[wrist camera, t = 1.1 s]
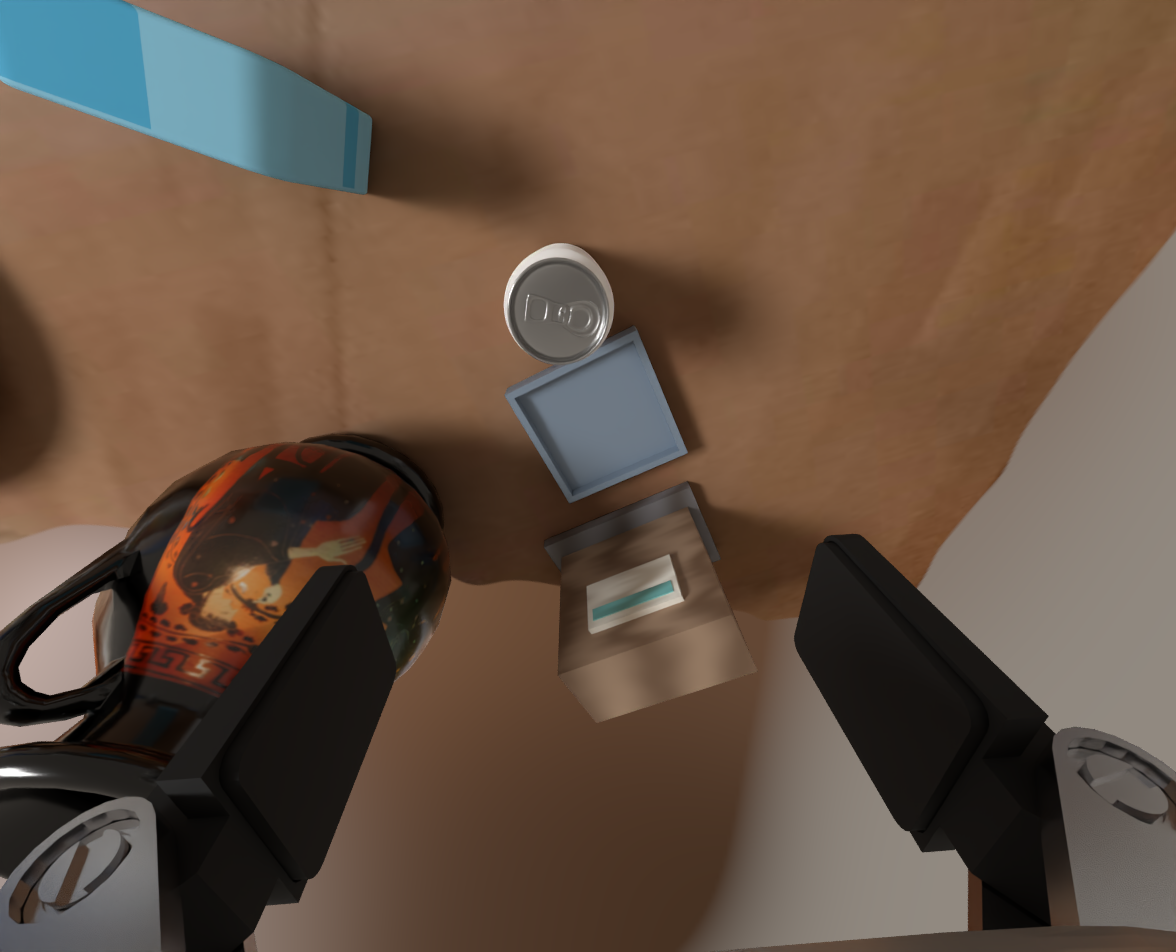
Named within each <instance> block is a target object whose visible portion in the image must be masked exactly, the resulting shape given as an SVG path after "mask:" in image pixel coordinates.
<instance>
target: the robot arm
mask: <svg viewBox="0 0 1176 952" xmlns="http://www.w3.org/2000/svg"><path fill="white" fill-rule="evenodd" d="M794 641H795V646H796V649H797V652H798V654H799V656H800V657H801V659H802V661H803V662H804V664H805V666H806V668H807V669H808V671H809V673H810V675H811V676H812V678H813V680H814V681H815V683H816V685H817V687H818V688H819V690H820V692H821V694H822V695H823V697H824V699H825V700H826V702H827V704H828V706H829V707H830V709H831V711H832V712H833V714H834V716H835V718H836V719H837V721H838V723H839V724H840V726H841V728H842V730H843V732H844V733H845V735H846V737H847V738H848V740H849V742H850V744H851V745H852V747H853V749H854V750H855V752H856V754H857V756H858V757H859V759H860V761H861V763H862V764H863V766H864V768H865V770H866V771H867V773H868V775H869V776H870V778H871V780H872V782H873V783H874V785H875V787H876V788H877V790H878V792H879V794H880V795H881V797H882V799H883V800H884V802H885V804H886V806H887V808H888V809H889V811H890V813H891V814H892V816H893V818H894V819H895V821H896V822H897V824H898V825H899V826H900V827H901V828H902V829H904V830H905V831H910V833H911V834H912V836H913V838H914V840H915V841H916V843H917V845H918V846H919V848H920V850H921V851H922V852H934V851H946V850H955V849H956V851H957V852H958V854H959V855H960V857H961V858H962V860H963V861H964V863H965V865H966V866H967V868H968V931H964V932H947V933H934V934H921V935H908V936H896V937H883V938H872V939H859V940H847V941H833V942H822V943H810V944H796V945H785V946H771V947H759V948H748V949H735V950H723V951H712V952H1176V772H1175V771H1174V770H1172V769H1171V768H1170V767H1169V766H1167V765H1166V764H1165V763H1164V762H1162V761H1160V760H1159V759H1157V758H1156V757H1154V756H1152V755H1151V754H1149V753H1148V752H1146V751H1144V750H1143V749H1141V748H1140V747H1137V746H1135V745H1133V744H1131V743H1129V742H1127V741H1124V740H1123V739H1121V738H1118V737H1116V736H1114V735H1110V734H1107V733H1104V732H1101V731H1098V730H1095V729H1089V728H1081V727H1071V728H1065V729H1061V730H1060V731H1059V732H1058V733H1057V734H1055V733H1054V732H1053V731H1052V730H1051V729H1050V728H1049V727H1048V726H1047V725H1046V724H1045V723H1044V722H1045V721H1046V719H1047V718H1048V715H1047V714H1046V713H1045V712H1044V711H1043V710H1042V709H1041V708H1040V707H1039V706H1038V705H1036V704H1035V703H1034V701H1032V700H1031V699H1030V698H1029V697H1028V696H1027V695H1026V694H1025V693H1024V692H1023V691H1022V690H1021V689H1020V688H1019V687H1018V686H1017V685H1016V684H1015V683H1014V682H1013V681H1012V680H1011V679H1010V678H1009V677H1008V676H1007V675H1006V674H1005V673H1004V672H1002V671H1001V670H1000V669H999V668H998V667H997V666H996V665H995V664H994V663H993V662H992V661H991V660H990V659H989V658H988V657H987V656H986V655H985V654H984V653H983V652H982V651H981V650H980V649H978V647H976V645H974V644H973V643H972V642H971V641H970V640H969V639H968V638H967V637H966V636H965V635H964V634H963V633H962V632H961V631H960V630H959V629H958V628H957V627H956V626H955V625H954V624H953V623H952V622H951V621H950V620H949V619H947V618H946V616H944V615H943V614H942V613H941V612H940V611H939V610H938V609H937V608H936V607H935V606H934V605H933V604H932V603H931V602H930V601H929V600H928V599H927V598H926V597H925V596H924V595H923V594H922V593H921V592H920V591H919V590H918V589H916V588H915V587H914V586H913V585H912V584H911V583H910V582H909V581H908V580H907V579H906V578H905V577H904V576H903V575H902V574H901V573H900V572H899V571H898V570H897V569H896V568H895V567H894V566H893V565H892V564H891V563H890V562H889V561H887V560H886V559H885V558H884V557H883V556H882V555H881V554H880V553H879V552H878V551H877V550H876V549H875V548H874V547H873V546H872V545H871V544H870V543H869V542H868V541H867V540H866V539H865V538H864V537H862V536H861V535H858V534H846V535H830V536H827V537H826V538H825V539H824V542H823V543H820V544H818V546H817V548H816V551H815V555H814V559H813V563H812V567H811V571H810V575H809V579H808V583H807V587H806V591H805V595H804V599H803V603H802V607H801V611H800V615H799V619H798V623H797V627H796V631H795V636H794ZM395 676H396V661H395V658H394V655H393V652H392V649H391V646H390V643H389V641H388V638H387V635H386V632H385V629H384V626H383V623H382V620H381V617H380V615H379V612H378V609H377V606H376V603H375V600H374V597H373V594H372V591H371V589H370V586H369V583H368V580H367V577H366V575H365V573H364V572H362V571H357V569H356V567H355V566H354V565H335V566H322V567H320V568H319V569H318V570H316V572H315V573H314V574H313V575H312V577H311V578H310V579H309V581H308V582H307V583H306V585H305V586H304V587H303V589H302V590H301V591H300V592H299V594H298V595H297V596H296V598H295V599H294V600H293V602H292V603H291V604H290V606H289V607H288V608H287V609H286V611H285V612H284V613H283V615H282V616H281V617H280V619H279V620H278V621H277V623H276V624H275V625H274V626H273V628H272V629H271V630H270V632H269V633H268V634H267V636H266V637H265V638H264V639H263V641H262V642H261V643H260V645H259V646H258V647H257V649H256V650H255V651H254V653H253V654H252V655H251V656H250V658H249V659H248V660H247V662H246V663H245V664H244V666H243V667H242V668H241V670H240V671H239V672H238V673H237V675H236V676H235V677H234V679H233V680H232V681H231V683H230V684H229V685H228V687H227V688H226V689H225V690H224V692H223V693H222V694H221V696H220V697H219V698H218V700H217V701H216V702H215V704H214V705H213V706H212V707H211V709H210V710H209V711H208V713H207V714H206V715H205V717H204V718H203V719H202V721H201V722H200V723H199V724H198V726H197V727H196V728H195V730H194V731H193V732H192V734H191V735H190V736H189V737H188V739H187V740H186V741H185V743H184V744H183V745H182V747H181V748H180V749H179V751H178V752H177V753H176V754H175V756H174V757H173V758H172V760H171V761H170V762H169V764H168V765H167V766H166V768H165V769H164V770H163V771H162V773H161V774H160V775H159V777H158V778H157V779H156V781H155V782H156V783H157V786H156V787H155V788H154V790H153V791H152V792H151V794H150V795H149V796H148V798H147V799H144V798H142V797H123V798H119V799H116V800H112V801H108V802H105V803H103V804H101V805H99V806H97V807H95V808H92V809H90V810H88V811H86V812H84V813H82V814H81V815H79V816H78V817H76V818H74V819H73V820H71V821H70V822H68V823H67V824H65V825H64V826H62V827H61V828H59V829H58V830H57V831H55V832H54V833H53V834H52V835H50V836H49V837H48V838H47V839H46V840H44V841H43V842H42V843H41V844H40V845H38V846H37V847H36V848H35V849H34V850H33V851H32V852H31V853H30V854H29V855H28V856H27V857H26V858H25V859H24V860H23V861H22V862H21V864H20V865H19V866H18V867H17V868H16V869H15V870H14V871H13V872H12V874H11V875H10V876H9V878H8V879H7V881H6V882H5V884H4V885H3V886H2V888H1V889H0V952H258V951H257V945H256V941H255V934H254V930H255V928H256V926H257V924H258V921H259V919H260V917H261V915H262V912H263V910H264V908H265V906H266V905H277V904H290V903H298V902H299V900H300V897H301V895H302V893H303V890H304V888H305V885H306V883H307V880H308V879H311V878H313V877H315V876H316V874H317V873H318V872H319V870H320V868H321V866H322V864H323V862H324V859H325V857H326V854H327V851H328V849H329V847H330V844H331V842H332V839H333V836H334V833H335V831H336V829H337V826H338V824H339V821H340V819H341V816H342V813H343V811H344V808H345V805H346V803H347V801H348V798H349V795H350V793H351V790H352V788H353V785H354V782H355V780H356V777H357V775H358V772H359V770H360V767H361V765H362V762H363V760H364V757H365V754H366V752H367V749H368V747H369V744H370V742H371V739H372V736H373V734H374V731H375V729H376V726H377V724H378V721H379V718H380V716H381V713H382V711H383V708H384V706H385V703H386V701H387V698H388V696H389V693H390V690H391V688H392V685H393V683H394V680H395Z"/></svg>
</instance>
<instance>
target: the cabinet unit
mask: <svg viewBox="0 0 1176 952" xmlns="http://www.w3.org/2000/svg"><path fill="white" fill-rule="evenodd" d="M544 548H545V550H546V551H547V553H548V554H549V556H550V557H551V559H552V560H553V561H554V563H555V564H556V566H557V567H558V569H559V570H560V572H561V591H560V623H559V653H558V676H559V677H560V679H561V680H562V681H563V682H564V684H565V685H566V686H567V687H568V688H569V690H570V691H571V692H572V693H573V695H574V696H575V697H576V698H577V700H578V701H579V702H580V703H581V705H582V706H583V707H584V708H585V710H586V711H587V712H588V713H589V714H590V716H591V717H592V718H593V719H594V721H595V722H596V723H598V722H601V721H604V720H607V719H611V718H614V717H617V716H620V715H623V714H626V713H629V712H633V711H636V710H638V709H642V708H645V707H648V706H651V705H654V704H658V703H661V702H664V701H667V700H670V699H673V698H676V697H679V696H683V695H686V694H689V693H692V692H695V691H698V690H701V689H704V688H708V687H711V686H714V685H717V684H720V683H723V682H726V681H730V680H733V679H736V678H739V677H742V676H745V675H748V674H752V673H755V672H757V668H756V666H755V663H754V661H753V659H752V656H751V654H750V652H749V649H748V647H747V644H746V642H745V640H744V637H743V635H742V633H741V630H740V628H739V626H738V623H737V621H736V618H735V616H734V614H733V611H732V609H731V607H730V604H729V602H728V599H727V597H726V595H725V592H724V590H723V588H722V585H721V583H720V580H719V578H718V576H717V573H716V571H715V569H714V566H713V564H712V562H715V561H718V560H721V558H720V556H719V553H718V551H717V549H716V546H715V544H714V542H713V539H712V537H711V535H710V532H709V530H708V528H707V525H706V523H705V521H704V518H703V516H702V514H701V511H700V509H699V507H698V504H697V502H696V500H695V497H694V495H693V493H692V490H691V488H690V486H689V484H688V482H687V481H686V482H684V483H682V484H679V485H677V486H674V487H672V488H670V489H667V490H665V491H662V492H660V493H658V494H655V495H653V496H650V497H648V498H645V499H643V500H641V501H638V502H636V503H633V504H631V505H629V506H626V507H624V508H621V509H619V510H617V511H614V512H612V513H609V514H607V515H605V516H602V517H600V518H597V519H595V520H593V521H590V522H588V523H585V524H583V525H580V526H578V527H576V528H573V529H571V530H568V531H566V532H564V533H561V534H559V535H556V536H554V537H552V538H549V539H547V540H545V542H544Z"/></svg>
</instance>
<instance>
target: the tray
mask: <svg viewBox="0 0 1176 952" xmlns="http://www.w3.org/2000/svg"><path fill="white" fill-rule="evenodd" d="M505 397H506V399H507V400H508V402H509V404H510V405H511V407H512V409H513V410H514V412H515V414H516V415H517V417H518V419H519V420H520V422H521V424H522V425H523V427H524V429H525V430H526V432H527V434H528V435H529V437H530V439H531V440H532V442H533V444H534V445H535V447H536V449H537V450H538V452H539V454H540V455H541V457H542V459H543V460H544V462H545V464H546V465H547V467H548V468H549V470H550V472H551V473H552V475H553V477H554V478H555V480H556V482H557V483H558V485H559V487H560V488H561V490H562V492H563V493H564V495H565V497H566V498H567V500H568V502H569V503H572V502H575V501H577V500H579V499H582V498H584V497H586V496H589V495H591V494H593V493H596V492H598V491H600V490H603V489H605V488H607V487H610V486H612V485H614V484H617V483H619V482H621V481H624V480H626V479H628V478H631V477H633V476H635V475H638V474H640V473H642V472H645V471H647V470H649V469H652V468H654V467H656V466H659V465H661V464H663V463H666V462H668V461H670V460H673V459H675V458H677V457H680V456H682V455H684V454H687V453H688V452H687V450H686V447H685V445H684V442H683V440H682V438H681V435H680V433H679V430H678V428H677V426H676V423H675V421H674V418H673V416H672V413H671V411H670V409H669V406H668V404H667V401H666V399H665V396H664V394H663V392H662V389H661V387H660V384H659V382H658V380H657V377H656V375H655V372H654V370H653V367H652V365H651V363H650V360H649V358H648V355H647V353H646V350H645V348H644V346H643V343H642V341H641V338H640V336H639V334H638V331H637V329H636V328H635V326H632V327H630V328H628V329H626V330H624V331H622V332H620V333H618V334H616V335H614V336H612V337H610V338H607V339H605V340H604V342H603V343H602V345H601V346H600V347H599V348H598V349H597V350H596V351H595V352H594V353H593V354H591V355H590V356H588V357H587V358H585V359H583V360H581V361H578V362H575V363H572V364H566V365H553V366H551V367H549V368H547V369H545V370H543V371H541V372H539V373H537V374H535V375H533V376H531V377H529V378H527V379H525V380H523V381H521V382H519V383H517V384H515V385H513V386H511V387H509V388H507V390H506V393H505Z"/></svg>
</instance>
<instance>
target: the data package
mask: <svg viewBox="0 0 1176 952" xmlns="http://www.w3.org/2000/svg"><path fill="white" fill-rule="evenodd" d="M0 80H1V81H2V82H4V83H5V84H7V85H9V86H11V87H13V88H16V89H18V90H21V91H24V92H27V93H30V94H32V95H35V96H38V97H41V98H44V99H47V100H49V101H52V102H55V103H58V104H61V105H64V106H67V107H69V108H72V109H75V110H78V111H81V112H84V113H87V114H89V115H92V116H95V117H98V118H101V119H104V120H106V121H109V122H112V123H115V124H118V125H121V126H124V127H126V128H129V129H132V130H135V131H138V132H141V133H144V134H146V135H149V136H152V137H155V138H158V139H161V140H163V141H166V142H169V143H172V144H175V145H178V146H181V147H183V148H186V149H189V150H192V151H195V152H198V153H201V154H203V155H206V156H209V157H212V158H215V159H218V160H221V161H223V162H226V163H229V164H232V165H235V166H238V167H240V168H243V169H246V170H249V171H252V172H256V173H259V174H262V175H265V176H269V177H272V178H276V179H280V180H284V181H288V182H293V183H299V184H305V185H311V186H316V187H322V188H328V189H333V190H339V191H345V192H351V193H356V194H362V195H364V194H366V193H367V187H368V173H369V160H370V146H371V133H372V119H371V117H370V116H369V115H368V114H366V113H364V112H362V111H361V110H359V109H357V108H356V107H354V106H352V105H350V104H349V103H347V102H345V101H343V100H342V99H340V98H338V97H336V96H335V95H333V94H331V93H329V92H328V91H326V90H324V89H322V88H321V87H319V86H317V85H315V84H314V83H312V82H310V81H308V80H307V79H305V78H303V77H301V76H300V75H298V74H296V73H294V72H293V71H291V70H289V69H287V68H285V67H283V66H281V65H279V64H277V63H275V62H273V61H271V60H269V59H267V58H264V57H262V56H260V55H258V54H255V53H253V52H251V51H248V50H246V49H244V48H241V47H239V46H236V45H234V44H231V43H229V42H226V41H224V40H221V39H218V38H216V37H213V36H211V35H208V34H206V33H203V32H201V31H198V30H196V29H193V28H191V27H188V26H186V25H183V24H181V23H178V22H176V21H173V20H170V19H168V18H165V17H163V16H160V15H158V14H155V13H153V12H150V11H148V10H145V9H143V8H140V7H138V6H135V5H133V4H130V3H127V2H125V1H122V0H0Z"/></svg>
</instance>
